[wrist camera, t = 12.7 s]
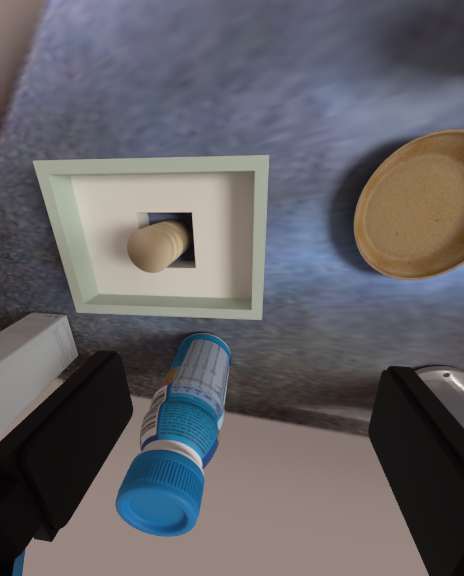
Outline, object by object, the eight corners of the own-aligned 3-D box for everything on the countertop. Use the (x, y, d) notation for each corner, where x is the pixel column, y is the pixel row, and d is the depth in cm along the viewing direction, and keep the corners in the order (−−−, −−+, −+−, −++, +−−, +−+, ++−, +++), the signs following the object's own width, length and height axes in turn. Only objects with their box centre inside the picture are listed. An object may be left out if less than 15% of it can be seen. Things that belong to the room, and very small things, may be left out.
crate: (261, 297, 32) (261, 319, 27) (105, 292, 35) (76, 312, 29) (266, 162, 26) (269, 155, 21) (76, 166, 28) (32, 160, 23)
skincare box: (33, 311, 37) (-98, 382, 23) (70, 313, 37) (-42, 387, 23) (48, 354, 40) (-60, 440, 27) (81, 357, 40) (-10, 446, 26)
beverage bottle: (228, 328, 35) (196, 483, 16) (236, 373, 38) (216, 547, 19) (173, 332, 36) (86, 481, 18) (185, 376, 39) (122, 541, 21)
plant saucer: (518, 137, 24) (547, 131, 21) (456, 277, 29) (474, 285, 27) (363, 132, 25) (375, 126, 22) (333, 268, 30) (340, 275, 28)
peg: (199, 236, 30) (180, 251, 23) (177, 260, 32) (153, 281, 24) (172, 211, 29) (144, 218, 22) (151, 236, 31) (118, 250, 23)
